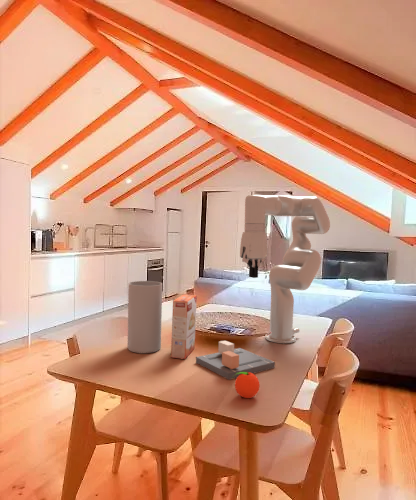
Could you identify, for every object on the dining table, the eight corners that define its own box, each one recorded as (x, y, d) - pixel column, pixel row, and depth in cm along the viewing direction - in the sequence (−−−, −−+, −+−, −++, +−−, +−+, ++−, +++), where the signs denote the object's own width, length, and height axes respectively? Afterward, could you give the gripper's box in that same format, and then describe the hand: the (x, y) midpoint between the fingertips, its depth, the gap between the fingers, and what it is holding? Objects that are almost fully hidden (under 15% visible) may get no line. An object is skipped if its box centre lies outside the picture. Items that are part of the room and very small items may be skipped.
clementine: (227, 398, 114) (228, 373, 113) (235, 389, 120) (235, 365, 120) (255, 404, 111) (256, 378, 110) (261, 394, 117) (262, 370, 117)
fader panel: (239, 353, 154) (240, 347, 154) (274, 367, 139) (274, 361, 139) (196, 362, 142) (196, 356, 142) (229, 379, 127) (229, 373, 127)
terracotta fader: (228, 362, 136) (229, 350, 135) (238, 367, 132) (239, 355, 131) (221, 364, 134) (222, 352, 134) (231, 369, 130) (232, 356, 129)
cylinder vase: (138, 356, 147) (140, 287, 145) (121, 347, 156) (122, 282, 154) (167, 349, 155) (168, 284, 153) (149, 342, 164) (150, 280, 163)
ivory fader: (224, 351, 147) (225, 340, 147) (233, 355, 143) (234, 344, 143) (218, 352, 146) (218, 341, 145) (227, 356, 142) (227, 345, 141)
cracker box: (186, 360, 144) (188, 301, 143) (170, 358, 146) (171, 300, 144) (195, 348, 158) (197, 294, 157) (180, 346, 159) (182, 293, 158)
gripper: (261, 228, 160) (260, 274, 162) (232, 228, 151) (231, 277, 153) (276, 228, 154) (274, 277, 156) (246, 229, 145) (245, 280, 147)
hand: (253, 277), depth 154 cm, fingers closed
